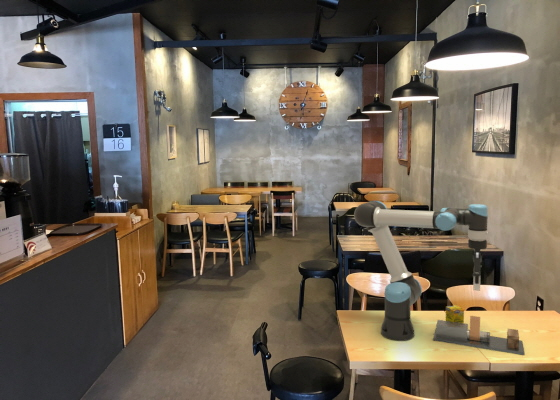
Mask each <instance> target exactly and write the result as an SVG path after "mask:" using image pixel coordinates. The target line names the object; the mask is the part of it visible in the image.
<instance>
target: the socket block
mask: <svg viewBox="0 0 560 400" xmlns="http://www.w3.org/2000/svg"><path fill="white" fill-rule="evenodd" d="M506 333H507V334H506V335H507V337H506V338H507V342H508V348H512V349H519V340H520V335H519V329H516V328H515V329H513V328H507V330H506Z"/></svg>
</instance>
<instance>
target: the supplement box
mask: <svg viewBox="0 0 560 400" xmlns="http://www.w3.org/2000/svg"><path fill="white" fill-rule="evenodd" d="M445 321H450V322H458V323H465V322H464V321H465V309H464V308H462V307H460V306H458V305H457V304H456V305H455V304H454V305H448V306H445Z"/></svg>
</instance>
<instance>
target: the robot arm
mask: <svg viewBox="0 0 560 400" xmlns="http://www.w3.org/2000/svg"><path fill="white" fill-rule="evenodd" d="M353 217H354V221H355V222H356V223H357V224H358V225H359V226H361V227H364V228H366V229H367V231H368V233H369V232H370V233H372V236H373V238H374V240H375V242H376V245H377V247H378V250H379V252H380V255H381V257H382V259H383V262H384V264H385V266H386V268H387V271H388V273H389V275H390V280H389V283H388V284H387V285H386V286H385V288H384V293H383V294H384V319H383V321H382V324H381V327H380V334H381V335H382V336H383V337H384V338H386V339H389V340H392V341H398V342H400V341H401V342H402V341H405V342H406V341H410V340H412V339H413V338H414V337H415V329H414V325H413V323H412V320H411V306H412V305H413V304H415V303H416V302H417V301H418V300H419V299H420V298H421V296H422V291H423V289H422V285H421V283H420V281H419V280H418V279H417V278H415V277H414V275H413V273H412V272H410V271H408V269H407V266H406V264H405V262H404V259H403V257H402V255H401V253H400V251H399V248H398V246H397V243H396V242H395V238H394V236H393V234H392V232H391V230H390V227H406V228H421V229H423V228H424V229H438V230H441V231H444V232H445V231H451V230H452V229H454V228H455V227H456V226H467V227H468V230H467V235H468V236H467V237H468V239H467V240H468V241H467V247H468V248H469V249H472V250H473V251H472V262H473V273H471V276H472V277H473V280H472V281H473V282H472V284H473V285H472V286H473V287H472V288H473V291H478V292H479V291H481V268H482V264H481V263H482V260H483V259H482V258H483V251H481V250H486V249H488V248H487V247H488V240H487V239H488V235H489V232H488V217H489V215H488V206H487V205H486V204H482V203H481V204H479V203H472V204H469V205H468V208H457V207H454V208H453V207H443V208H441V209H440V211H435V210H433V211H432V210H411V209H410V210H408V209H407V210H405V209H388V207H387V206H386V204H384V203H383V202H382V201H381V200H370V201H367V202H363V203H360V204H358V205H357V207H356V208H355V210H354V213H353Z"/></svg>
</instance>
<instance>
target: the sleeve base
mask: <svg viewBox="0 0 560 400" xmlns="http://www.w3.org/2000/svg"><path fill="white" fill-rule="evenodd" d="M468 324H469V323H465V322H464V323H458V322H450V321H446V320H442V319H437V321H436V324H435V329H434V334H433V338H432V341H433V342H439V343H446V344H452V345H457V346H458V345H459V346H465V347H470V348H471V347H472V348H477V349H484V350H489V351H495V352H496V351H497V352H502V353H508V354H514V355H521V356H525V347H524V343H523V340H520V339H519V349H512V348H508V342H507V337H499V336H493V335H492V336H491V335H490V341H487V340H480V341H476V340H470V338H467V329H469V327H468V326H469V325H468Z"/></svg>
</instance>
